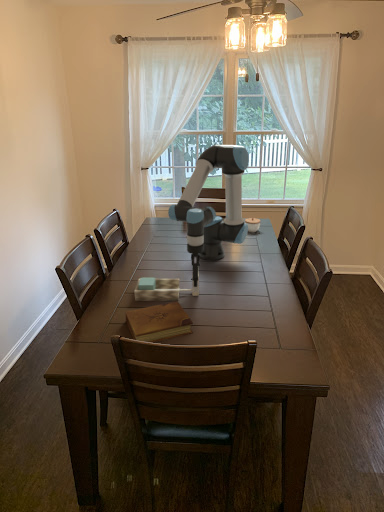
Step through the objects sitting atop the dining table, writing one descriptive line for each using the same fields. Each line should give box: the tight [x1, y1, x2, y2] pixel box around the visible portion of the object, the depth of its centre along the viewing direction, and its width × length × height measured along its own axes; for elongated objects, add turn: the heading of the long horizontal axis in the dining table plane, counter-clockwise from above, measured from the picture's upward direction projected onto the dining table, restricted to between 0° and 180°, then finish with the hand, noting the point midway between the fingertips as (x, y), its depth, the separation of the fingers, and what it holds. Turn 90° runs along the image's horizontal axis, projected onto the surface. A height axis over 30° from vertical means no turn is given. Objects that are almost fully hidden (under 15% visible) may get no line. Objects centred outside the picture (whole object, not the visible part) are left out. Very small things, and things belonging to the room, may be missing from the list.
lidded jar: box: [244, 217, 261, 233], centre depth 262 cm, size 11×11×9 cm
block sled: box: [138, 271, 200, 297], centre depth 177 cm, size 28×8×10 cm, turn 89°
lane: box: [134, 278, 181, 302], centre depth 178 cm, size 20×13×5 cm, turn 89°
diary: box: [124, 300, 194, 343], centre depth 152 cm, size 23×19×6 cm
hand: (195, 285), depth 177 cm, fingers open, 13 cm apart
